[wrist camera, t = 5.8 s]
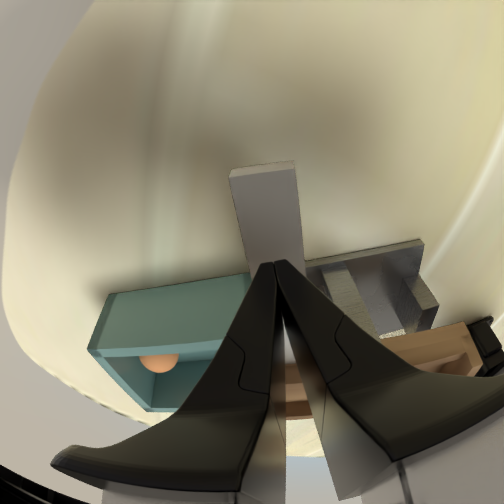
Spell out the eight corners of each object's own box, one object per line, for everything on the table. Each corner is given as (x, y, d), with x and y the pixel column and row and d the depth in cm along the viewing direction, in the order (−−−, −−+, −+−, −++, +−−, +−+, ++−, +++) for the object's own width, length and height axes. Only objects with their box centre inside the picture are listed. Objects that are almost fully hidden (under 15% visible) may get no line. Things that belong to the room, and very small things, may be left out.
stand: (401, 323, 22) (432, 390, 16) (281, 350, 23) (293, 429, 17) (420, 239, 17) (477, 312, 11) (266, 268, 18) (281, 367, 12)
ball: (168, 342, 22) (192, 360, 20) (142, 366, 20) (164, 387, 18) (153, 317, 20) (178, 335, 18) (124, 342, 18) (146, 364, 17)
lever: (437, 370, 16) (449, 406, 14) (247, 396, 18) (243, 437, 16) (511, 155, 7) (560, 189, 5) (165, 180, 10) (127, 226, 7)
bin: (273, 351, 23) (279, 403, 19) (154, 363, 23) (146, 411, 19) (255, 271, 18) (262, 333, 14) (108, 294, 19) (86, 349, 14)
